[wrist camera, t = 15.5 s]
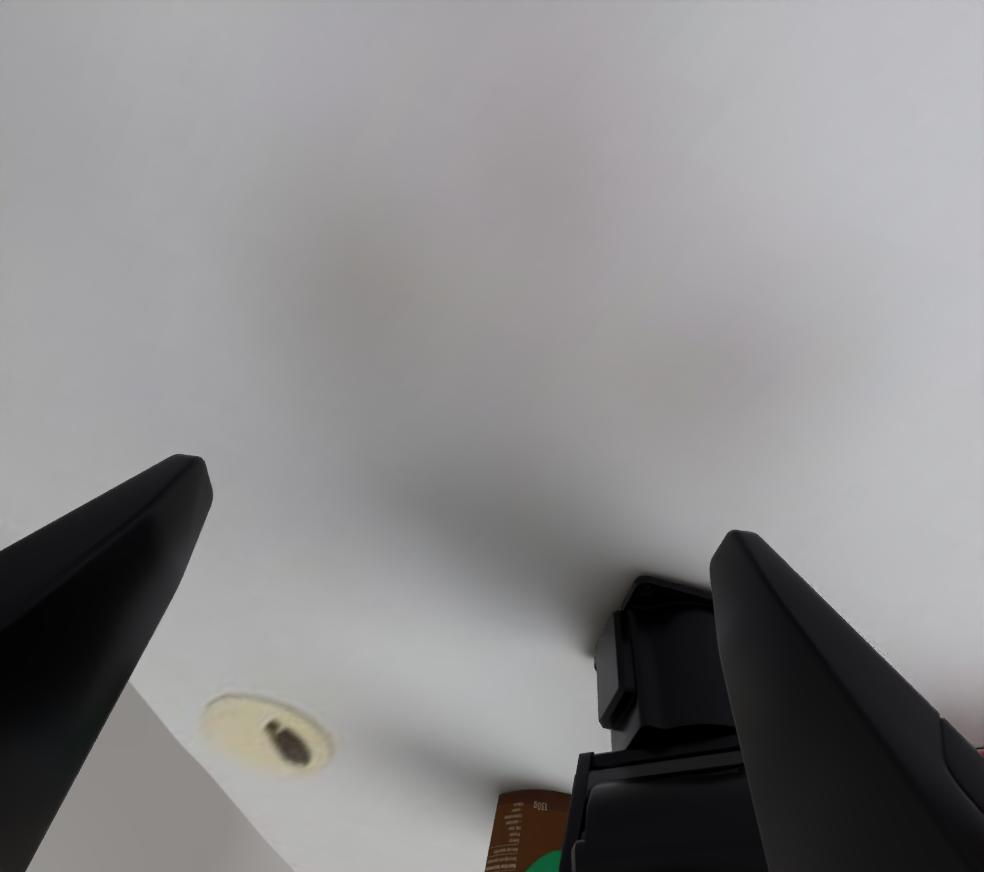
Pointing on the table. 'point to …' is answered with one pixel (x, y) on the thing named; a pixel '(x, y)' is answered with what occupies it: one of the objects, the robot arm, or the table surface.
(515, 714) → the table surface
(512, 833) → the food container
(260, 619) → the table surface
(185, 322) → the table surface
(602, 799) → the robot arm
